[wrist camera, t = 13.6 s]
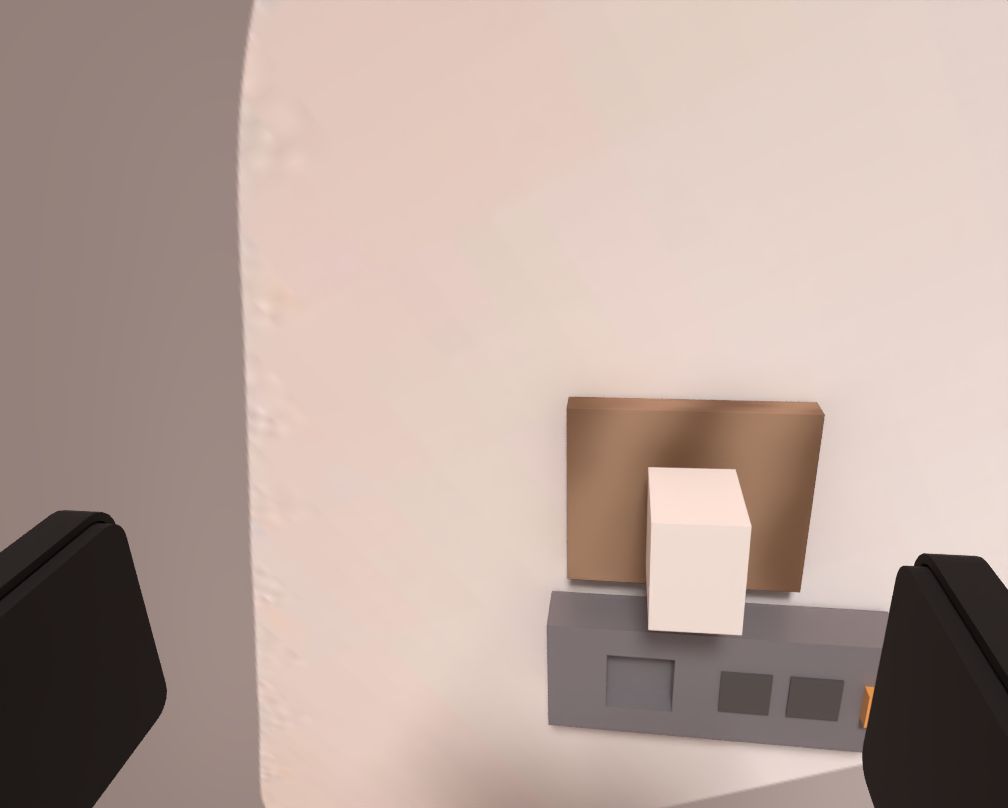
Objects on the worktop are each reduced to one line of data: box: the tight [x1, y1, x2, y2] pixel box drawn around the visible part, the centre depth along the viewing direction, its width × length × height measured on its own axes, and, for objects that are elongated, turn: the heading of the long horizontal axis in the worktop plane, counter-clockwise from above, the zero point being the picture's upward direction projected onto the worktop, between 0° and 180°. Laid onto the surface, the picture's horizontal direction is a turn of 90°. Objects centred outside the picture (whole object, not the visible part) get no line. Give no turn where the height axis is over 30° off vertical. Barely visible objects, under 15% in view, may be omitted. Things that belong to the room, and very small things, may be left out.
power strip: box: [547, 591, 889, 752], centre depth 41 cm, size 18×7×4 cm, turn 92°
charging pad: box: [567, 397, 825, 592], centre depth 39 cm, size 12×10×2 cm
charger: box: [646, 467, 752, 635], centre depth 35 cm, size 4×6×6 cm
